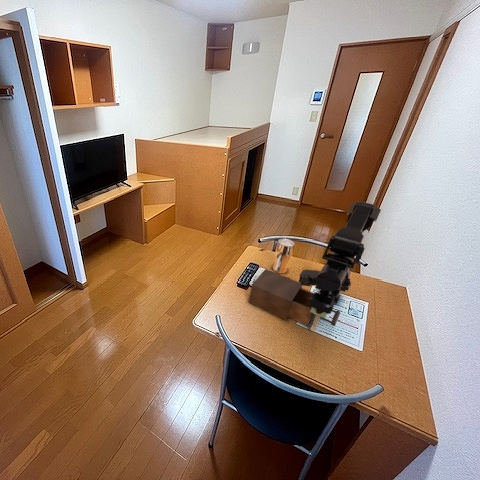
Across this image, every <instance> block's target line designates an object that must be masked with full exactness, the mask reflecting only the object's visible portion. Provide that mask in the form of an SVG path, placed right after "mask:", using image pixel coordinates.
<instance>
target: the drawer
mask: <svg viewBox="0 0 480 480" xmlns="http://www.w3.org/2000/svg"><path fill="white" fill-rule="evenodd" d="M313 293H314V292H313V291H310V290H308V289H306V288H303V287H302V288H300V290H299V292H298V293H297V295H296V296H295V298H294V299H293V301H292V302H291V306H290V309H289V312H288V315H287V316H288V317H287V318H290V319H292V320H293V321H296V322H298V323H300V324H301V325H304V326H306V327H307V326H309V324H310V322H311V320H312V318H313V316H314V315H315V317H314V320H313V322H312V324H311V327H310V331H312V332H315V330H316V329H317V327H318V324H319V322H320V320H322V321H325V322H327V323H329V324H330V325H331V326H333V327H335V326H336V325H337V322H338V320H339V317H340V315H341V311H340V310H335V309H332V312H331V313H334V314H333V316H332V319H331V320H330V319H328V318H327V317H326V318H323V317H320V316H318V315H316V314H314V313H311V312H310V311H311V308H312V307H311V306H309V305H308V302H309V299H310V297H311V295H312V294H313Z"/></svg>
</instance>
